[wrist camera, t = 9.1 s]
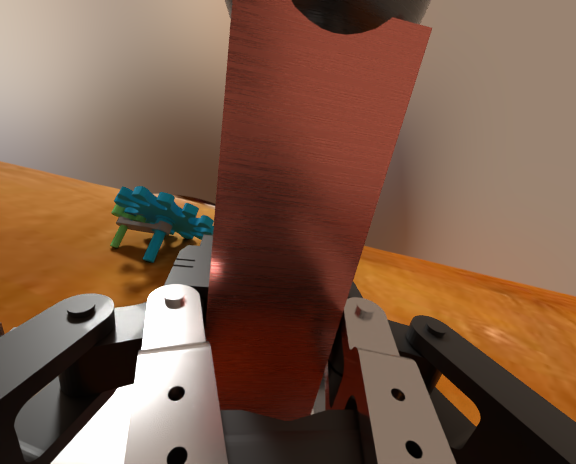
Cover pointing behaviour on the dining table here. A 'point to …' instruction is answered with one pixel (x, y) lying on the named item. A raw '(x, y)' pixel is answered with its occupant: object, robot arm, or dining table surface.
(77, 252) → the dining table surface
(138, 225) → the gear
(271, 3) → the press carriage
